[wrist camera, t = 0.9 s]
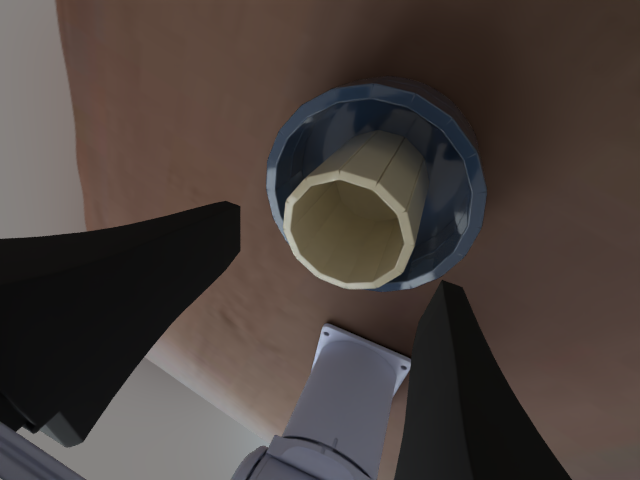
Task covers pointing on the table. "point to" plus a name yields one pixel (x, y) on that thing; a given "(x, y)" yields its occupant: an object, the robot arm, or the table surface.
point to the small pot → (359, 211)
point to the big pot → (422, 132)
